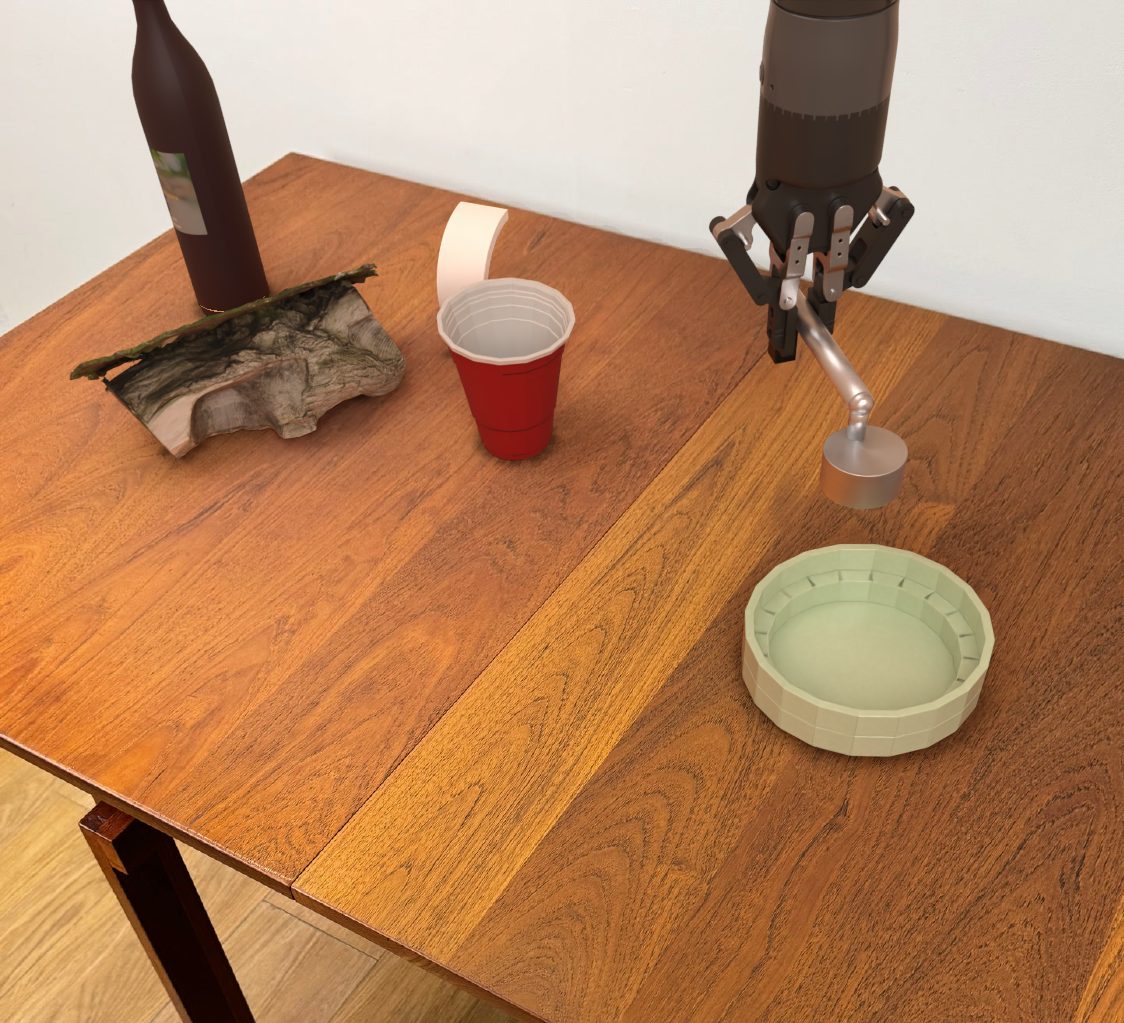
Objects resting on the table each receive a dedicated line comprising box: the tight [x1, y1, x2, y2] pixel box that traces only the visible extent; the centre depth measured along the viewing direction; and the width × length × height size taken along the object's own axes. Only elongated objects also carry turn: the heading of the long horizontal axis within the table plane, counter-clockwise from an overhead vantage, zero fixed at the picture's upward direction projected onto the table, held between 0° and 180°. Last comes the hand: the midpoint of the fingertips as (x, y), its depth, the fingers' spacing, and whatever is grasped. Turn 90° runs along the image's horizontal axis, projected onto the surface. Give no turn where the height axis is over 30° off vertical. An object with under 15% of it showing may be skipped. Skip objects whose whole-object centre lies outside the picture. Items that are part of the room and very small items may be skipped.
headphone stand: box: [436, 201, 509, 310], centre depth 108 cm, size 5×6×12 cm
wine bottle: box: [130, 0, 270, 316], centre depth 108 cm, size 7×7×30 cm
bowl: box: [741, 543, 996, 758], centre depth 82 cm, size 16×16×4 cm
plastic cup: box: [436, 277, 577, 461], centre depth 98 cm, size 11×11×12 cm
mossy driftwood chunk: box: [69, 263, 407, 460], centre depth 102 cm, size 28×13×15 cm
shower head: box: [767, 288, 909, 510], centre depth 80 cm, size 19×5×6 cm, turn 13°
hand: (798, 346), depth 83 cm, fingers closed on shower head
